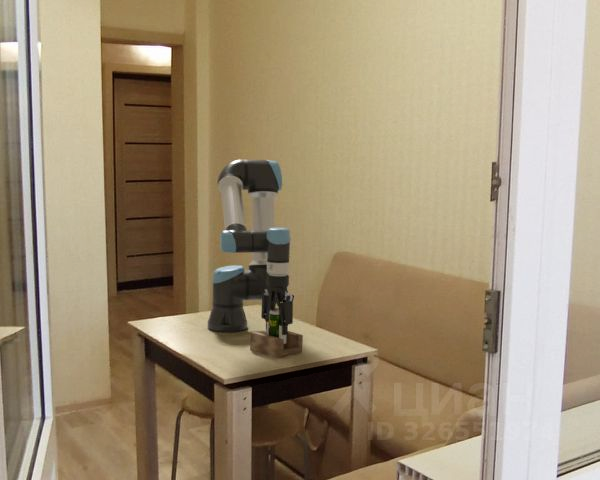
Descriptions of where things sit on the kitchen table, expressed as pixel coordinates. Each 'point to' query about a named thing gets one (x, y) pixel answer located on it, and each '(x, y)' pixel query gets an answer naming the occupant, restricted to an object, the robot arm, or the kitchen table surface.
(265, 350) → the slot block
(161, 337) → the kitchen table surface
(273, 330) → the beer can
